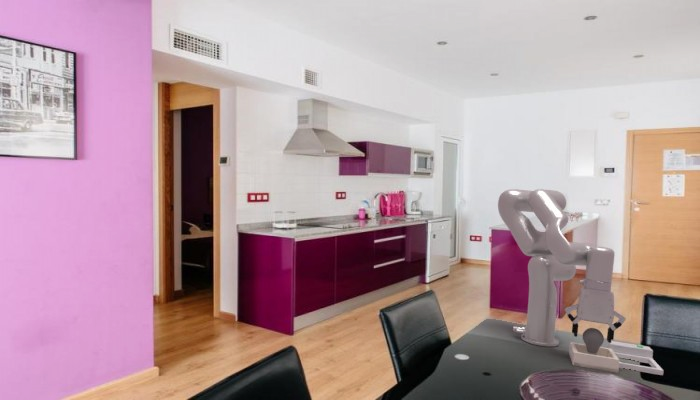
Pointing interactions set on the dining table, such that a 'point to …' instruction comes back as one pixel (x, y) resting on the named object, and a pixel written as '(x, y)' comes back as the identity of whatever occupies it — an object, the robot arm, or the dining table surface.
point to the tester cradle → (635, 356)
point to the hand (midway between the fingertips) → (591, 338)
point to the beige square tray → (594, 358)
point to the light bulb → (593, 340)
